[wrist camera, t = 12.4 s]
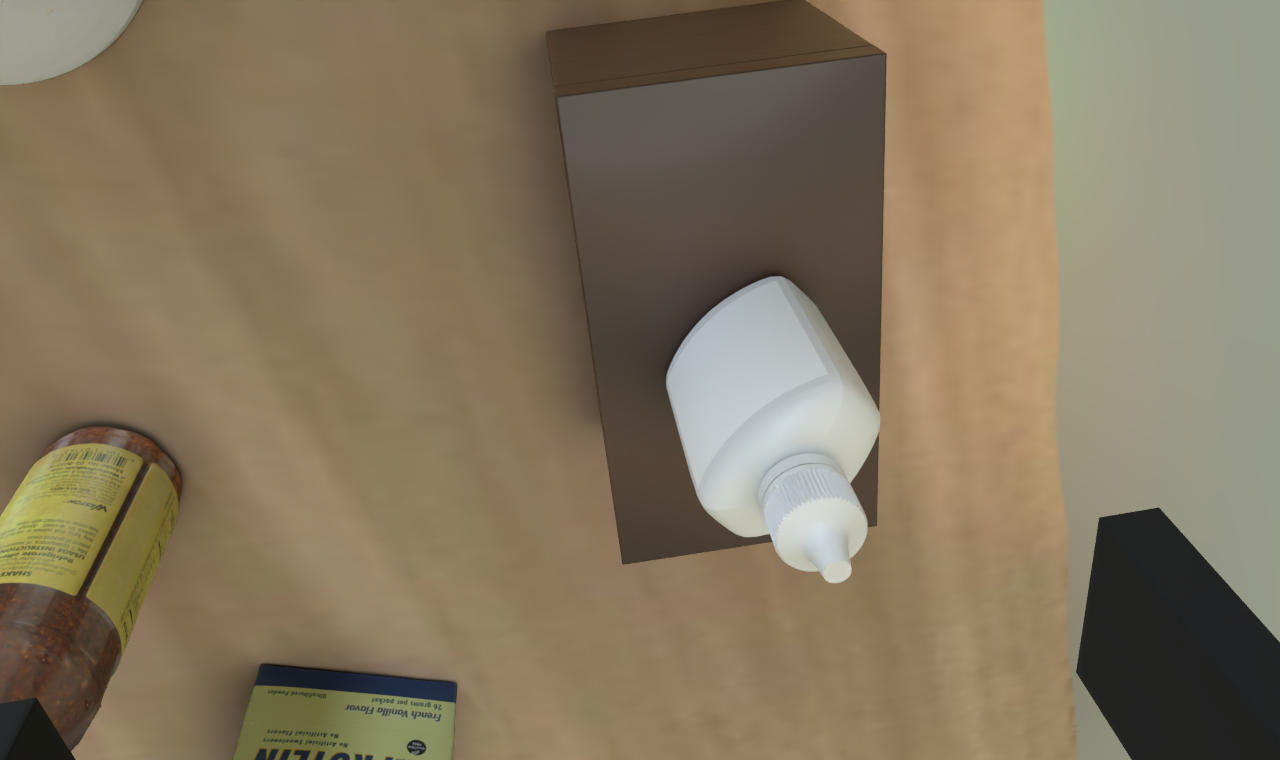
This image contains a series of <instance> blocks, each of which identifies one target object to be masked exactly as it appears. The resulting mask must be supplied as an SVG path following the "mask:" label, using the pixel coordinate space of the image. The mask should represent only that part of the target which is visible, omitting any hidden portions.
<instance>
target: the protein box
mask: <svg viewBox="0 0 1280 760" xmlns="http://www.w3.org/2000/svg"><path fill="white" fill-rule="evenodd" d="M456 696H457V684H456V683H444V682H434V681H423V680H413V679H402V678H392V677H382V676H372V675H361V674H352V673H341V672H331V671H321V670H308V669H299V668H289V667H279V666H270V665H261V666H260V668H259V672H258V676H257V679H256V682H255V685H254V688H253V691H252V695H251V698H250V701H249V704H248V707H247V711H246V714H245V717H244V721H243V724H242V728H241V732H240V735H239V739H238V743H237V747H236V750H235V754H234V757H233V760H453V748H454V732H455V713H456Z"/></svg>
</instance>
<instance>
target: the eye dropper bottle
mask: <svg viewBox="0 0 1280 760" xmlns="http://www.w3.org/2000/svg"><path fill="white" fill-rule="evenodd" d="M666 387H667V391H668V395H669V399H670V402H671V406H672V410H673V413H674V417H675V421H676V424H677V428H678V432H679V435H680V439H681V443H682V446H683V450H684V453H685V457H686V460H687V464H688V467H689V471H690V475H691V478H692V481H693V484H694V487H695V490H696V494H697V497H698V499H699V500H700V502H701V504H702V506H703V508H704V509H705V511H706V512H707V513H708V514H709V515H711V516H712V517H713V518H714V519H715V520H716V521H718V522H719V523H720V524H721V525H723V526H724V527H726V528H727V529H728V530H730V531H731V532H733V533H735V534H737V535H739V536H743V537H758V536H762V535H767V534H770V536H771V539H772V541H773V544H774V547H775V550H776V552H777V553H778V555H779V556H780V558H781V559H783V561H784V562H786V564H788V565H790V566H792V567H793V568H797V569H798V570H802V571H811V572H814V571H819V572H820V573H821V575H822V576H823V577H824V579H825V580H826V581H828V582H830V583H840V582H842V581H844V580H846V579H847V578H848V577H849V576H850V574H851V571H852V569H851V562H850V558H852V557H853V556H854V555H855V554H856V553H857V552H858V550H859V549H860V548H861V546H862V545H863V542H864V541H865V538H866V536H867V535H866V534H867V532H868V531H867V529H868V526H867V525H868V523H867V518H866V515H865V512H864V510H863V508H862V506H861V504H860V502H859V500H858V498H857V496H856V494H855V492H854V490H853V488H852V486H851V484H850V483H851V481H852V480H853V479H854V477H855V476H856V475H857V473H858V472H859V470H860V468H861V467H862V465H863V464H864V462H865V460H866V458H867V457H868V455H869V453H870V451H871V449H872V447H873V445H874V443H875V440H876V438H877V435H878V433H879V429H880V421H881V416H880V414H879V411H878V408H877V406H876V404H875V402H874V400H873V399H872V397H871V395H870V393H869V392H868V390H867V388H866V386H865V384H864V383H863V381H862V379H861V378H860V376H859V375H858V373H857V371H856V370H855V368H854V366H853V365H852V363H851V361H850V360H849V358H848V356H847V355H846V353H845V351H844V350H843V348H842V346H841V345H840V343H839V342H838V340H837V338H836V337H835V335H834V333H833V332H832V330H831V329H830V327H829V325H828V324H827V322H826V320H825V319H824V317H823V316H822V314H821V312H820V311H819V309H818V308H817V306H816V305H815V304H814V303H813V302H812V301H811V300H810V299H809V298H808V297H807V296H806V295H805V294H804V293H803V292H802V291H801V290H800V289H799V288H798V287H797V286H796V285H795V284H794V283H792V282H791V281H790V280H788V279H786V278H784V277H782V276H774V277H768V278H765V279H762V280H759V281H757V282H755V283H752V284H750V285H748V286H746V287H744V288H743V289H741V290H739V291H737V292H735V293H734V294H732V295H731V296H729V297H728V298H726V299H725V300H723V301H722V302H720V303H719V304H718V305H716V306H715V307H714V308H713V309H712V310H710V311H709V312H708V313H707V314H706V315H705V316H704V317H703V318H702V319H701V320H700V321H699V322H698V323H697V324H696V325H695V327H694V328H693V329H692V330H691V331H690V333H689V334H688V335H687V337H686V338H685V339H684V341H683V342H682V344H681V346H680V347H679V349H678V351H677V352H676V354H675V356H674V358H673V360H672V362H671V364H670V367H669V369H668V372H667V376H666Z"/></svg>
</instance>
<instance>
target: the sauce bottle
mask: <svg viewBox="0 0 1280 760" xmlns="http://www.w3.org/2000/svg"><path fill="white" fill-rule="evenodd" d="M181 491H182V480H181V476H180V474H179V472H178V471H177V469H176V467H175V464H174V463H173V462H172V461H171V460H170V459H169V457H168V456H167V455H166V454H165V453H164V452H163V451H162V450H161V449H160V448H159V447H158V445H157V444H155V443H154V442H153V441H152V440H150V439H148V438H146V437H144V436H142V435H139V434H137V433H135V432H131V431H127V430H121V429H116V428H113V427H107V426H103V427H88V428H85V429H78V430H76V431H74V432H72V433H70V434H67V435H65V436H63V437H62V438H60V439H59V440H57V441H56V442H55V443H53V444H52V445H51V446H49V447H48V448H47V449H46V450H45V452H44V453H43V455H42V457H41V458H40V459H39V460H38V461H37V462H36V463H35V464H34V465H33V466H32V468H31V469H30V470H29V472H28V474H27V475H26V477H25V478H24V480H23V482H22V483H21V485H20V486H19V488H18V489H17V491H16V492H15V494H14V496H13V497H12V499H11V500H10V502H9V503H8V505H7V507H6V508H5V510H4V512H3V513H2V515H1V516H0V704H2V703H8V702H14V701H19V700H25V699H31V698H37V699H38V701H39V702H40V704H41V706H42V707H43V709H44V710H45V712H46V713H47V715H48V717H49V718H50V720H51V721H52V723H53V725H54V726H55V728H56V729H57V731H58V733H59V734H60V736H61V737H62V739H63V741H64V742H65V744H66V745H67V747H68V749H69V750H70V752H71V751H72V750H73V749H74V747H75V746H76V745H78V744H79V742H80V741H81V739H82V737H83V736H84V734H85V732H86V730H87V729H88V727H89V725H90V724H91V722H92V720H93V719H94V717H95V715H96V714H97V712H98V710H99V708H100V707H101V701H102V698H103V695H104V692H105V690H106V688H107V685H108V683H109V681H110V678H111V676H112V675H113V674H114V673H115V671H116V669H117V667H118V665H119V663H120V661H121V658H122V656H123V653H124V650H125V648H126V645H127V643H128V641H129V638H130V635H131V633H132V630H133V627H134V625H135V622H136V620H137V617H138V615H139V612H140V610H141V607H142V605H143V602H144V600H145V597H146V595H147V592H148V590H149V587H150V585H151V582H152V580H153V577H154V575H155V572H156V570H157V567H158V565H159V563H160V560H161V558H162V555H163V553H164V550H165V548H166V546H167V543H168V541H169V538H170V535H171V533H172V531H173V529H174V526H175V524H176V521H177V516H178V504H179V500H180V495H181Z"/></svg>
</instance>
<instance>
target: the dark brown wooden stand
mask: <svg viewBox="0 0 1280 760" xmlns="http://www.w3.org/2000/svg"><path fill="white" fill-rule="evenodd" d="M546 40H547V47H548V54H549V61H550V67H551V74H552V80H553V87H554V94H555V101H556V108H557V115H558V122H559V129H560V136H561V143H562V150H563V157H564V164H565V171H566V178H567V185H568V192H569V199H570V206H571V213H572V220H573V227H574V234H575V241H576V248H577V255H578V261H579V268H580V275H581V282H582V289H583V296H584V303H585V310H586V317H587V324H588V331H589V338H590V345H591V352H592V359H593V366H594V373H595V380H596V387H597V394H598V401H599V409H600V416H601V422H602V429H603V436H604V443H605V450H606V456H607V463H608V470H609V477H610V483H611V490H612V497H613V504H614V510H615V517H616V524H617V531H618V537H619V544H620V551H621V558H622V564H630V563H637V562H643V561H650V560H656V559H663V558H670V557H676V556H683V555H689V554H696V553H702V552H709V551H715V550H722V549H728V548H735V547H741V546H748V545H754V544H761V543H767V542H773V541H772V539H771V536H770V534H767V535H762V536H758V537H743V536H739V535H737V534H735V533H733V532H731V531H730V530H728V529H727V528H726V527H724V526H723V525H721V524H720V523H719V522H718V521H716V520H715V519H714V518H713V517H712V516H711V515H709V514H708V513H707V512H706V511H705V509H704V508H703V506H702V504H701V502H700V500H699V499H698V497H697V494H696V490H695V487H694V484H693V481H692V478H691V475H690V471H689V467H688V464H687V460H686V457H685V453H684V450H683V446H682V443H681V439H680V435H679V432H678V428H677V424H676V421H675V417H674V413H673V410H672V406H671V402H670V399H669V395H668V391H667V387H666V376H667V372H668V369H669V367H670V364H671V362H672V360H673V358H674V356H675V354H676V352H677V351H678V349H679V347H680V346H681V344H682V342H683V341H684V339H685V338H686V337H687V335H688V334H689V333H690V331H691V330H692V329H693V328H694V327H695V325H696V324H697V323H698V322H699V321H700V320H701V319H702V318H703V317H704V316H705V315H706V314H707V313H708V312H709V311H710V310H712V309H713V308H714V307H715V306H716V305H718V304H719V303H720V302H722V301H723V300H725V299H726V298H728V297H729V296H731V295H732V294H734V293H735V292H737V291H739V290H741V289H743V288H744V287H746V286H748V285H750V284H752V283H755V282H757V281H759V280H762V279H765V278H768V277H774V276H782V277H784V278H786V279H788V280H790V281H791V282H792V283H794V284H795V285H796V286H797V287H798V288H799V289H800V290H801V291H802V292H803V293H804V294H805V295H806V296H807V297H808V298H809V299H810V300H811V301H812V302H813V303H814V304H815V305H816V306H817V308H818V309H819V311H820V312H821V314H822V316H823V317H824V319H825V320H826V322H827V324H828V325H829V327H830V329H831V330H832V332H833V333H834V335H835V337H836V338H837V340H838V342H839V343H840V345H841V346H842V348H843V350H844V351H845V353H846V355H847V356H848V358H849V360H850V361H851V363H852V365H853V366H854V368H855V370H856V371H857V373H858V375H859V376H860V378H861V379H862V381H863V383H864V384H865V386H866V388H867V390H868V392H869V393H870V395H871V397H872V399H873V400H874V402H875V404H876V406H877V408H878V411H879V395H880V346H881V298H882V249H883V200H884V151H885V102H886V53H885V52H883V51H882V50H880V49H879V48H877V47H876V46H874V45H872V44H871V43H869V42H867V41H866V40H864V39H863V38H861V37H860V36H858V35H857V34H855V33H854V32H852V31H851V30H849V29H848V28H846V27H845V26H843V25H842V24H840V23H839V22H837V21H836V20H834V19H833V18H831V17H830V16H828V15H827V14H825V13H823V12H822V11H820V10H819V9H817V8H816V7H814V6H813V5H811V4H810V3H808V2H807V1H805V0H788V1H780V2H772V3H764V4H757V5H749V6H741V7H733V8H726V9H718V10H710V11H702V12H694V13H687V14H679V15H671V16H663V17H655V18H648V19H640V20H632V21H624V22H616V23H609V24H601V25H593V26H585V27H578V28H570V29H562V30H554V31H547V32H546ZM878 444H879V433H878V435H877V438H876V440H875V443H874V445H873V447H872V449H871V451H870V453H869V455H868V457H867V458H866V460H865V462H864V464H863V465H862V467H861V468H860V470H859V472H858V473H857V475H856V476H855V477H854V479H853V480H852V481H851V483H850V484H851V486H852V488H853V490H854V492H855V494H856V496H857V498H858V500H859V502H860V504H861V506H862V508H863V510H864V512H865V515H866V518H867V523H868V525H867V526H868V527H872V526H877V493H878Z"/></svg>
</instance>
